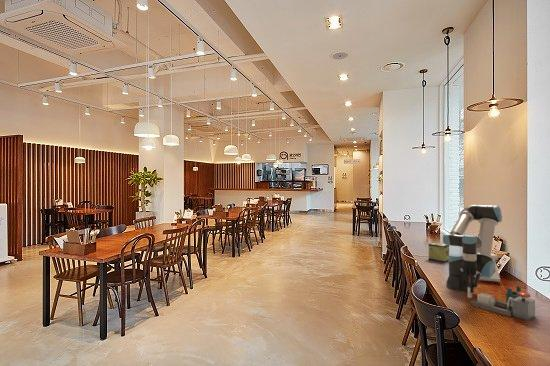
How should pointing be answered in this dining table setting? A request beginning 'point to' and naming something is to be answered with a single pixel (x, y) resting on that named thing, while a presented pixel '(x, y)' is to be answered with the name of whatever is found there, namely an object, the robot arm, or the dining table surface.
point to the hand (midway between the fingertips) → (469, 297)
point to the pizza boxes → (496, 274)
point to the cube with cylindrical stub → (486, 299)
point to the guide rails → (493, 307)
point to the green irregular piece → (512, 293)
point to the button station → (522, 306)
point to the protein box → (439, 252)
